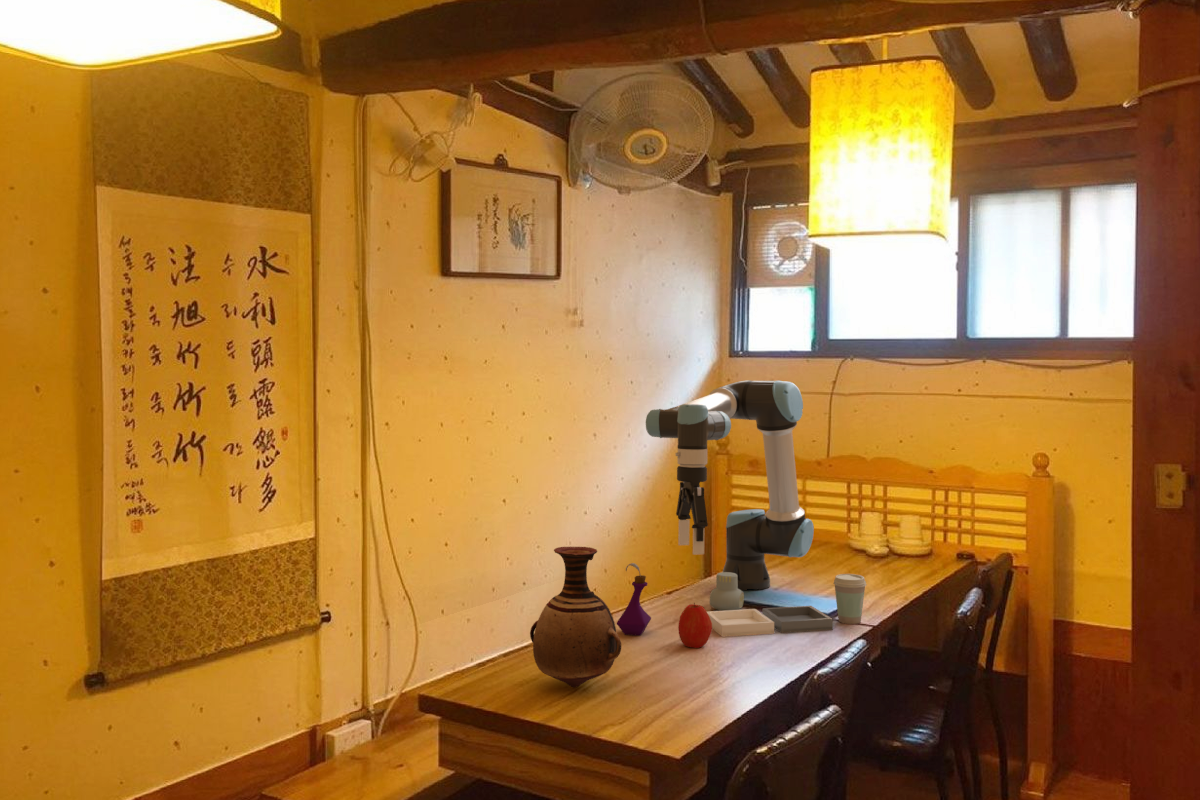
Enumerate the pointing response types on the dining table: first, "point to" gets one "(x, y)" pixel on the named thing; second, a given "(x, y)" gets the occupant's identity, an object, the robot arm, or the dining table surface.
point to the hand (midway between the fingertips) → (690, 549)
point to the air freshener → (726, 592)
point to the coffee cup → (849, 597)
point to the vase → (575, 627)
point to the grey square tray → (798, 619)
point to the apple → (694, 626)
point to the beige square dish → (740, 622)
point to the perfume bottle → (635, 609)
